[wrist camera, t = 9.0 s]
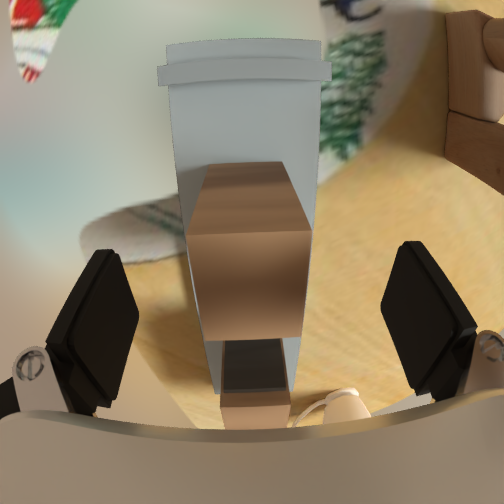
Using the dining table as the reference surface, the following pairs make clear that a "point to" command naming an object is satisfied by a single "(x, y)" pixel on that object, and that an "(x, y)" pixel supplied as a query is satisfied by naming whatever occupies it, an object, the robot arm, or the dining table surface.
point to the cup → (339, 407)
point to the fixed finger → (254, 385)
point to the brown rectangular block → (249, 253)
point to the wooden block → (476, 95)
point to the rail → (245, 126)
